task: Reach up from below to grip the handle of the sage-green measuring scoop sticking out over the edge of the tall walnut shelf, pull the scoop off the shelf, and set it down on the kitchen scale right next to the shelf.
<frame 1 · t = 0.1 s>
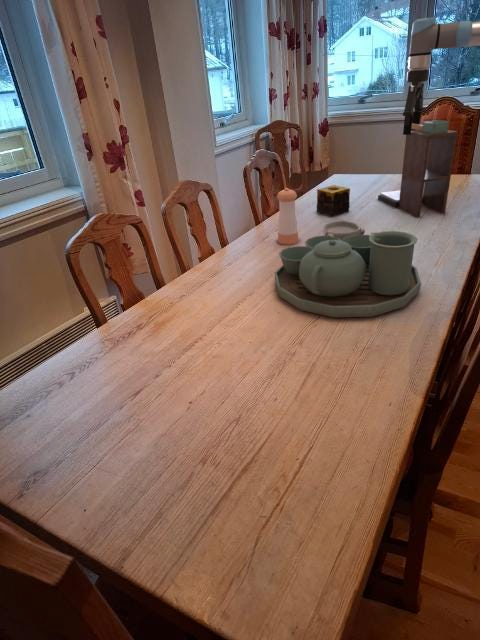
hand: (411, 132, 168), 29 cm above the table, tool pointing down, fingers open, 13 cm apart
pepper shaker: (288, 241, 158), on the table
candle: (332, 212, 183), on the table
scoop: (434, 132, 158), point 30 cm above the table, touching shelf
kitchen scale: (400, 201, 188), on the table
shelf: (421, 210, 175), on the table
tea set: (343, 285, 123), on the table
dish: (341, 240, 155), on the table
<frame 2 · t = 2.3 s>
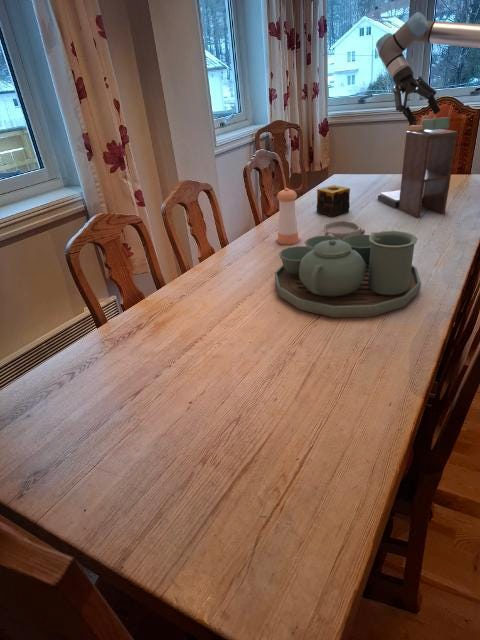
hand: (425, 117, 173), 33 cm above the table, tool tilted 40°, fingers open, 13 cm apart
scoop: (435, 128, 157), point 31 cm above the table, tilted 7°, touching shelf
everything else where it was.
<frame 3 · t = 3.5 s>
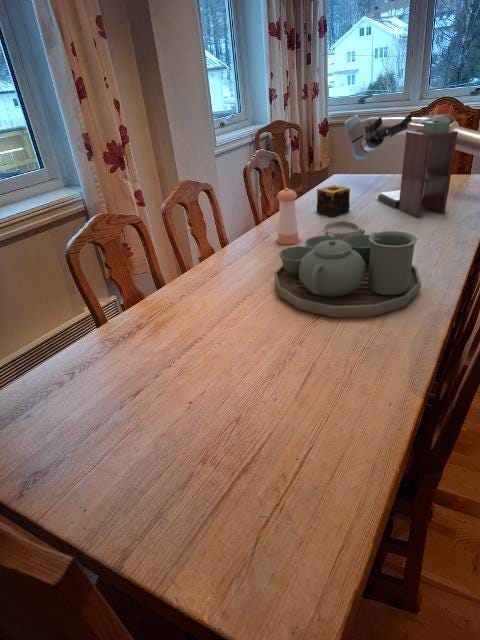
hand: (396, 119, 181), 32 cm above the table, tool pointing upward, fingers open, 13 cm apart
scoop: (435, 132, 158), point 30 cm above the table, touching shelf
everything else where it was.
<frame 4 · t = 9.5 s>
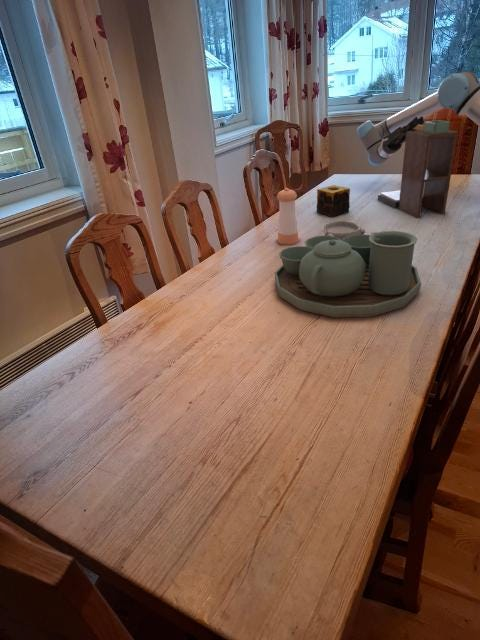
hand: (419, 120, 165), 33 cm above the table, tool pointing upward, fingers closed on scoop, 2 cm apart
scoop: (435, 132, 158), point 30 cm above the table, touching gripper
everything else where it was.
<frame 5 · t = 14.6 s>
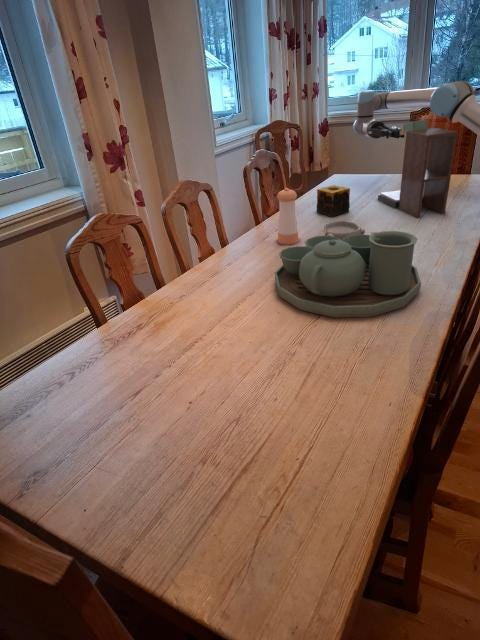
hand: (401, 134, 179), 27 cm above the table, tool horizontal, fingers closed on scoop, 2 cm apart
scoop: (415, 131, 169), point 29 cm above the table, tilted 13°, touching gripper
everything else where it was.
when the fingers open (11 cm above the table, at t = 19.3 s): scoop drops 9 cm, resting on kitchen scale.
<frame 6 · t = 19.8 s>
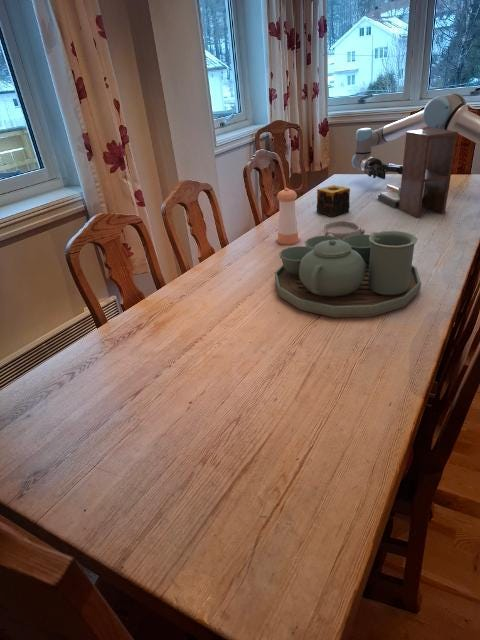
hand: (395, 174, 188), 11 cm above the table, tool horizontal, fingers open, 10 cm apart
scoop: (408, 197, 182), point 3 cm above the table, touching kitchen scale
everything else where it was.
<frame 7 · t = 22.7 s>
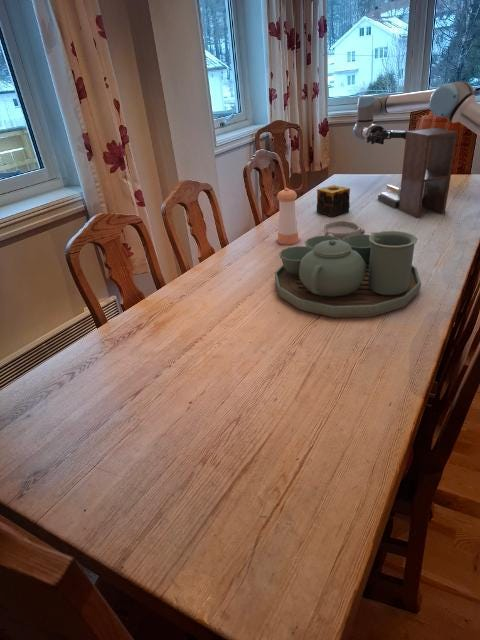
hand: (397, 138, 182), 25 cm above the table, tool horizontal, fingers open, 13 cm apart
nothing on the table moved.
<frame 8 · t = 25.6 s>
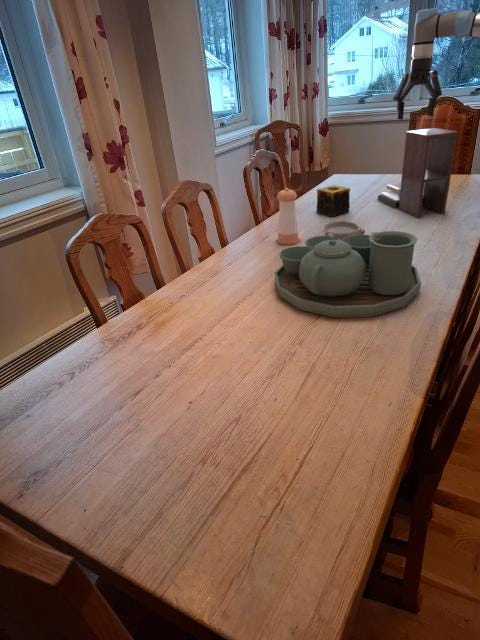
hand: (415, 117, 177), 33 cm above the table, tool pointing down, fingers open, 13 cm apart
nothing on the table moved.
at the end: scoop inside the target area on the kitchen scale (5.3 cm from its centre), point 3.2 cm above the kitchen scale's base; the gripper is holding nothing; scoop touching kitchen scale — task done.
